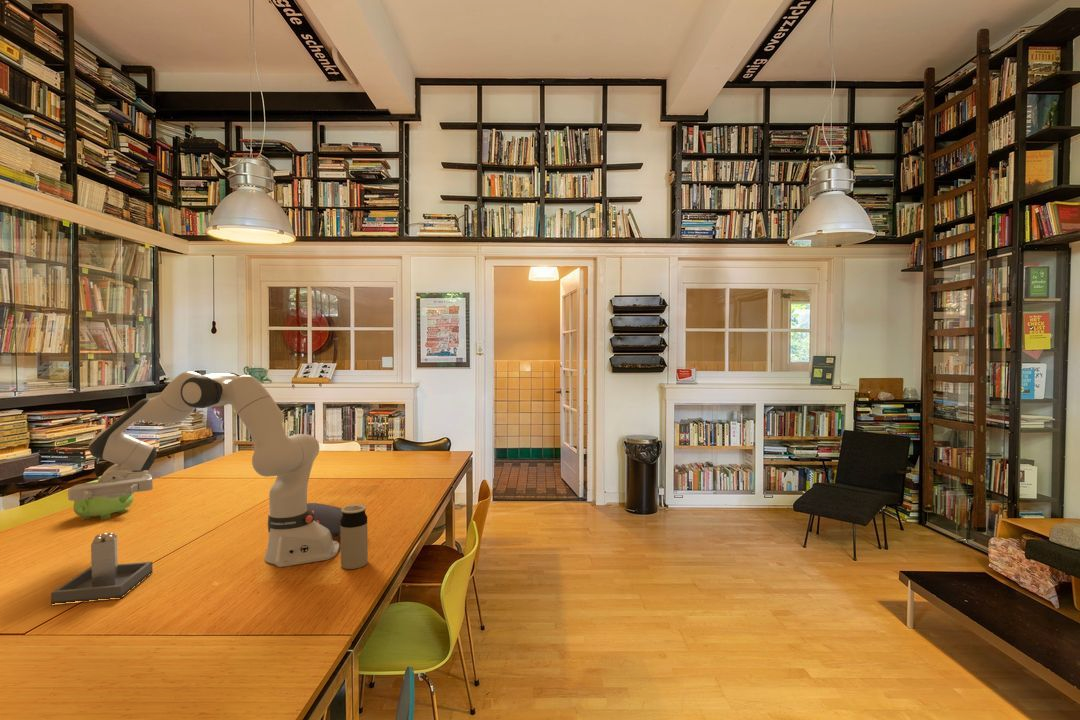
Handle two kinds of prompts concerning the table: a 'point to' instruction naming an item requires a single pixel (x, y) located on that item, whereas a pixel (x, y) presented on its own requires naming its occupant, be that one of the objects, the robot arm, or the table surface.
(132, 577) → the charcoal bin
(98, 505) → the teapot
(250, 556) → the table surface
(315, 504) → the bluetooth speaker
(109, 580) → the ball-topped square pillar
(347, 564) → the travel mug
